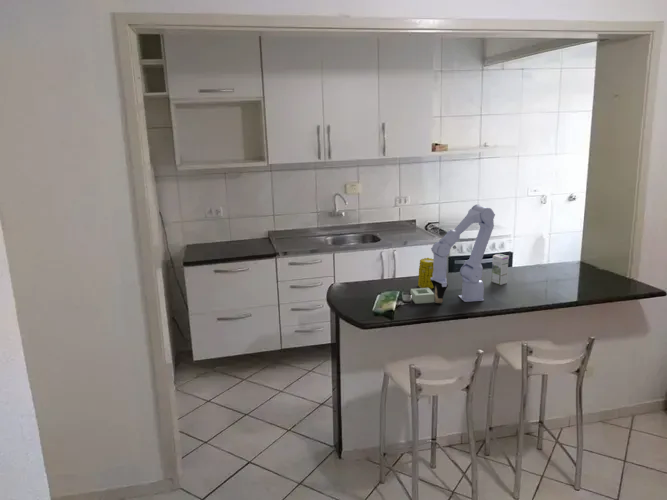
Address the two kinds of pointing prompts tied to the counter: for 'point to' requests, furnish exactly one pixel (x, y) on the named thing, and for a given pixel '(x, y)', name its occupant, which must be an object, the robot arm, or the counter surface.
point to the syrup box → (499, 269)
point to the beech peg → (437, 297)
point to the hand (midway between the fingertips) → (438, 296)
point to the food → (425, 273)
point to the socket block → (422, 295)
